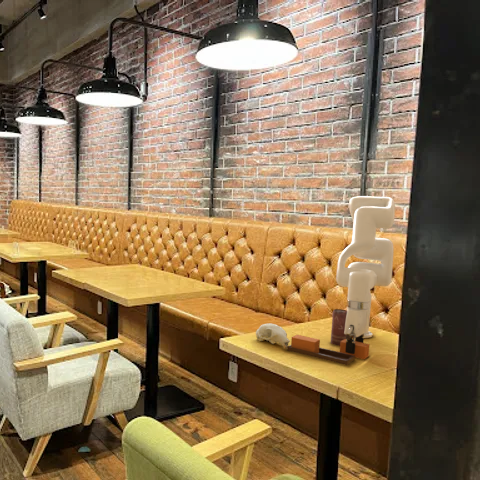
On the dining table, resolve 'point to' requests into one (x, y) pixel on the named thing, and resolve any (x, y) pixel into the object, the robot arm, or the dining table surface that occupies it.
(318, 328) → the dining table surface
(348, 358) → the frame
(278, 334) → the animal skull
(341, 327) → the can
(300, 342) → the back pad left
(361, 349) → the back pad right
